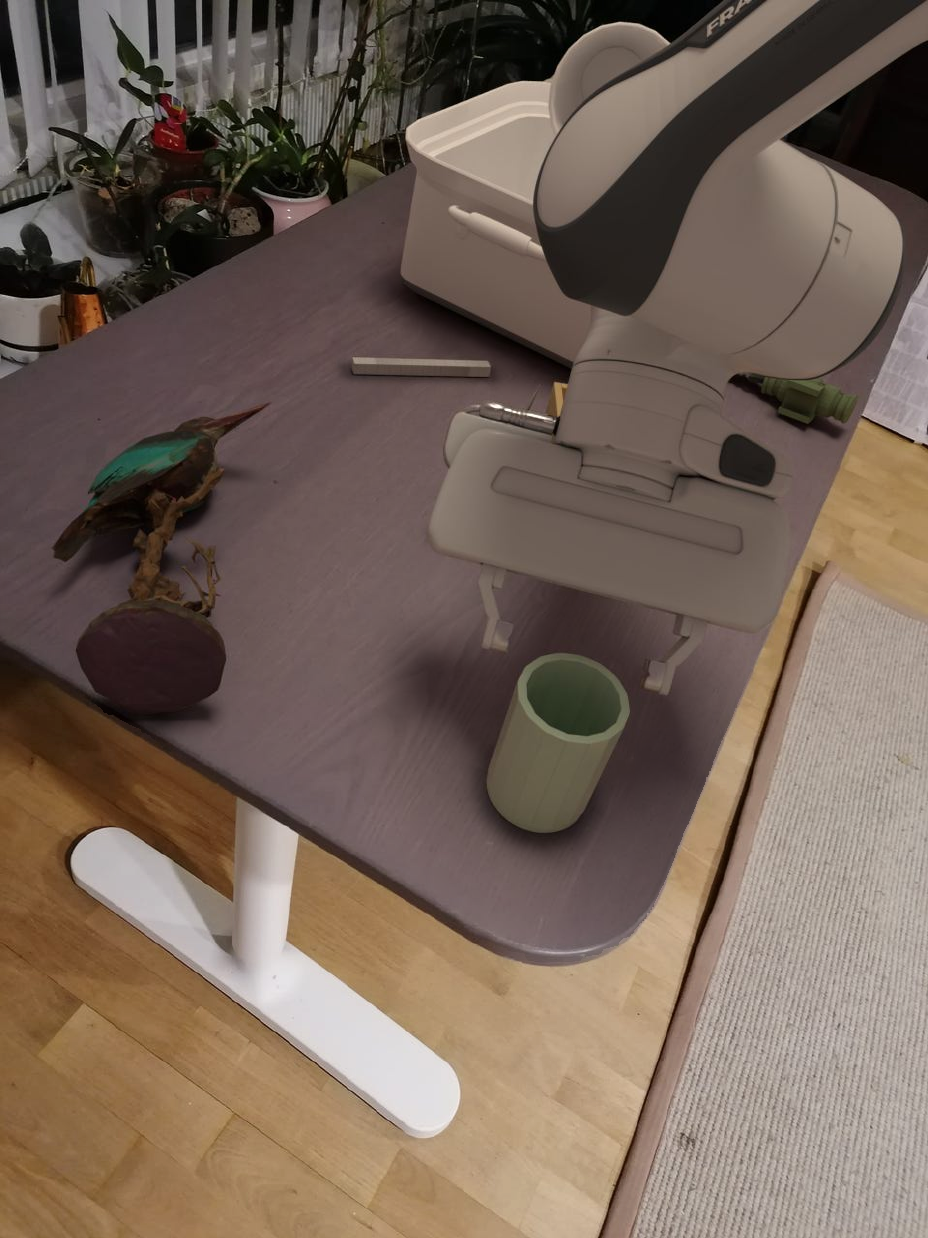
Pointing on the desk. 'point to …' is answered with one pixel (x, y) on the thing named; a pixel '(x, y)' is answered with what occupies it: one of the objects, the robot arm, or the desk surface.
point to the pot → (489, 220)
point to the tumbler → (556, 741)
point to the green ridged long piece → (807, 398)
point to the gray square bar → (420, 367)
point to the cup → (598, 64)
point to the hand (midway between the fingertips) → (572, 671)
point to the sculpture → (154, 573)
